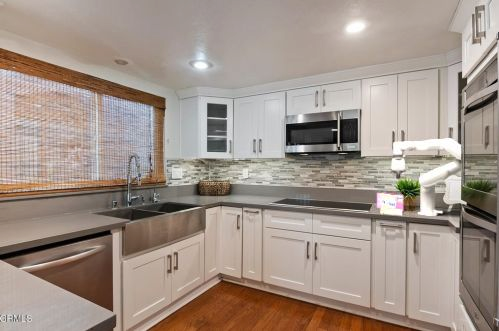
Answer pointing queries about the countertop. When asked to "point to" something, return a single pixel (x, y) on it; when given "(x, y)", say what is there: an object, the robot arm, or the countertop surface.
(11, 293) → the countertop surface
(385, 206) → the block
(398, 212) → the trap board
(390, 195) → the gum box
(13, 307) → the countertop surface
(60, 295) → the countertop surface
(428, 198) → the robot arm
